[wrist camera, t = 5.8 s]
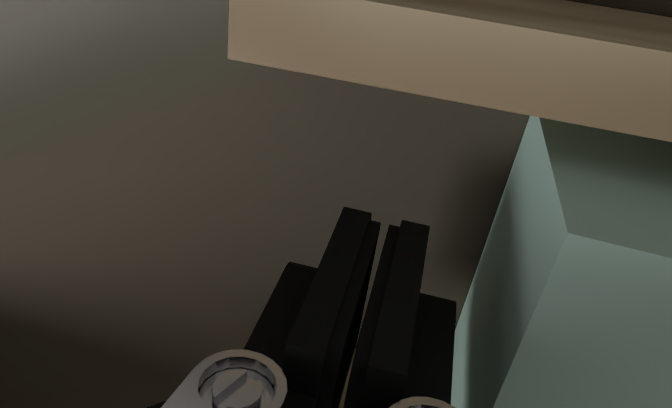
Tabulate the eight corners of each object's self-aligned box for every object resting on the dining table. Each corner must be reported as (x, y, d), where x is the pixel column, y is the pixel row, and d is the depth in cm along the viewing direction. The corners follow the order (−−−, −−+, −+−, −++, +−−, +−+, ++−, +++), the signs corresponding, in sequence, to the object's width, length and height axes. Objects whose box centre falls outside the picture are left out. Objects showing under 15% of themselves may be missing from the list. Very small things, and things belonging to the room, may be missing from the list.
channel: (287, -45, 11) (230, -23, 9) (1130, 92, 9) (1375, 172, 7) (257, 357, 16) (215, 447, 14) (799, 494, 15) (866, 624, 12)
